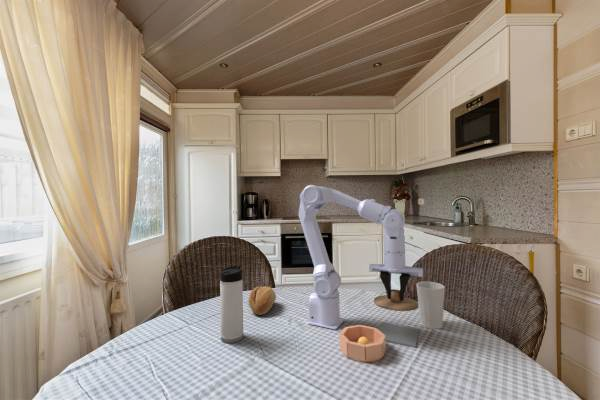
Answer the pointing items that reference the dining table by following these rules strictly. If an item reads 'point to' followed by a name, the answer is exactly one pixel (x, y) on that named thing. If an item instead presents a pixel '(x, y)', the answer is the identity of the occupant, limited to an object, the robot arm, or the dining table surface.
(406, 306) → the lid
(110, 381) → the dining table surface
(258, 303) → the bread roll
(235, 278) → the travel mug
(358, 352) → the bowl
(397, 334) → the mat
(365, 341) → the clementine
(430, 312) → the cup
